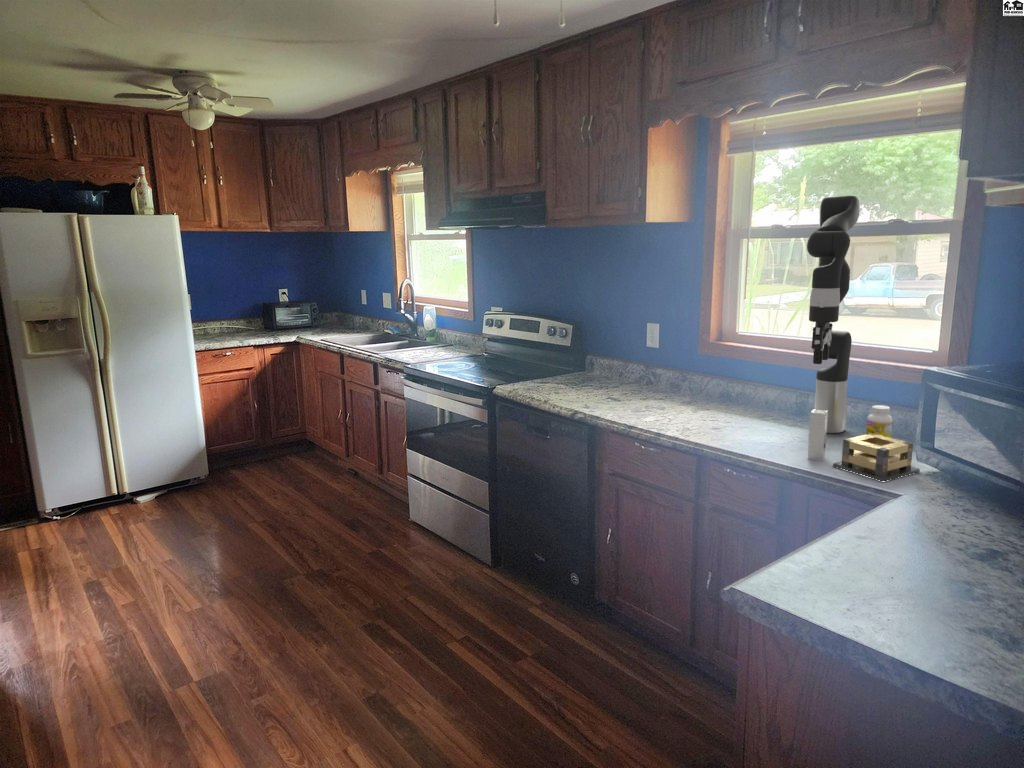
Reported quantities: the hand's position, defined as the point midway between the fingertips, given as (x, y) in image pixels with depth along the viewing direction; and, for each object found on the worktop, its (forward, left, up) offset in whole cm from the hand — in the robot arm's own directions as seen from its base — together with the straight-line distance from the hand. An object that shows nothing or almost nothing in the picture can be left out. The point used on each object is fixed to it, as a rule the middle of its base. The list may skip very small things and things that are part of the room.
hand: (820, 361), depth 187 cm
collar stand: (-5, +16, -28) cm, 33 cm away
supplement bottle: (-23, +4, -29) cm, 37 cm away
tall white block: (0, +1, -28) cm, 28 cm away
